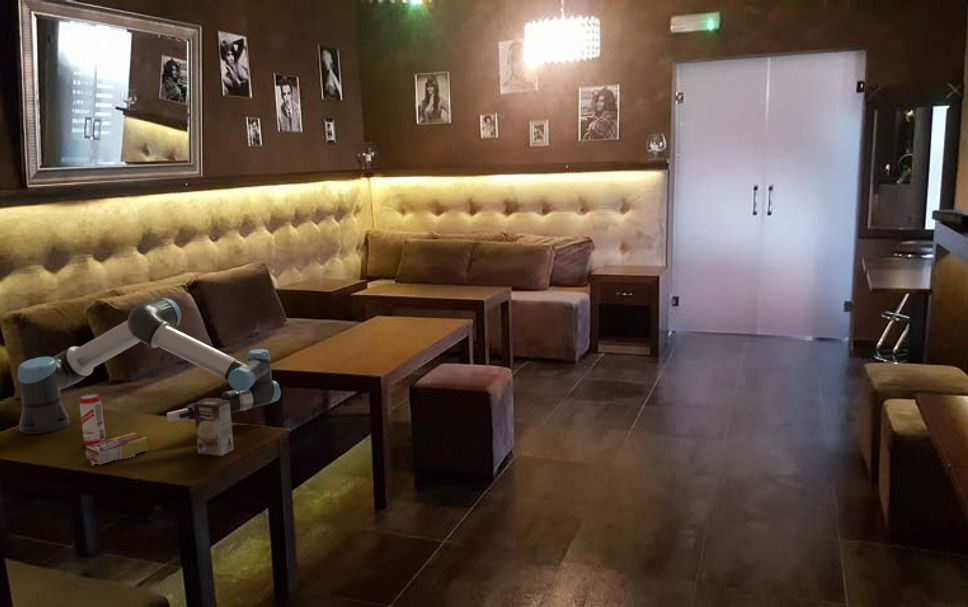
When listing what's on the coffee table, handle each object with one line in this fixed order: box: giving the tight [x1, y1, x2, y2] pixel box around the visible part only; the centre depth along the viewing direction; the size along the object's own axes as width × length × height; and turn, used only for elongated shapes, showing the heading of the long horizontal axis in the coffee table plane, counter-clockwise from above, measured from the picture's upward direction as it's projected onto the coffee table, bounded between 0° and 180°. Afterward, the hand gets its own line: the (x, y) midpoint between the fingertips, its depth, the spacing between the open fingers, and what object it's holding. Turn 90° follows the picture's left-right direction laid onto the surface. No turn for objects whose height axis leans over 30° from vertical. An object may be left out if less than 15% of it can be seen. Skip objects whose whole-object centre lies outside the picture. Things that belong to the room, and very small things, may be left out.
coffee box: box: [193, 397, 234, 457], centre depth 244 cm, size 9×6×16 cm
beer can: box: [79, 393, 107, 446], centre depth 254 cm, size 6×6×16 cm
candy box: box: [85, 432, 149, 465], centre depth 243 cm, size 9×4×15 cm
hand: (168, 417), depth 254 cm, fingers closed
